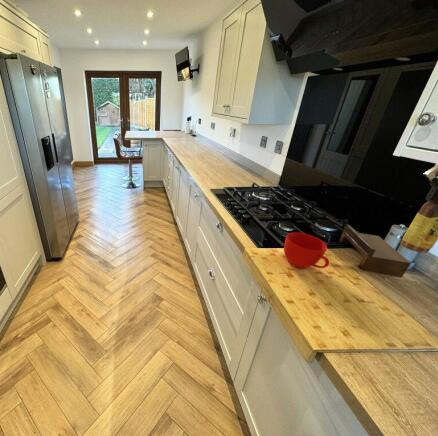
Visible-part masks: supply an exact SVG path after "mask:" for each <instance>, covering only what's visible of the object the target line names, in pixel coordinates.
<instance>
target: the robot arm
mask: <svg viewBox="0 0 438 436" xmlns="http://www.w3.org/2000/svg"><path fill="white" fill-rule="evenodd" d="M423 176H424V177H425V178H426V179H427V180H428V181H429V183H430V186H431V188H430V189H429V192H428V193H427V195H426V197H425V201H426V202H428V201H429V202H431V203H434V204H437V203H438V161H437V162H436V163H435V165H434V166H433V167H431V168H430V169H428V170H426V171H425V172H424V173H423Z"/></svg>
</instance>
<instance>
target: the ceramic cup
mask: <svg viewBox="0 0 438 436" xmlns="http://www.w3.org/2000/svg"><path fill="white" fill-rule="evenodd" d="M327 250H328V246H327V244H326V243H325V242H324V241H323V240H322V239H320V238H319V237H316V236H314V235H311V234H308V233H303V232H289V233H287V235H286V237H285V240H284V244H283V253H284V256H285V258H286V260H287V262H288V263H289V264H290V265H291V266H293V267H296V268H298V269H306V268H310V267H311V266H312V267H314V268H317V269H326V268H327V267H328V266H329V265H330V260H329V258H328V257H327V256H325V254H326V251H327ZM321 259H322V260H324V262H325V263H324V265H318V264H317V263H318V262H319V261H320V260H321Z"/></svg>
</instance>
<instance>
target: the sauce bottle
mask: <svg viewBox="0 0 438 436" xmlns="http://www.w3.org/2000/svg"><path fill="white" fill-rule="evenodd" d="M437 242H438V203H437V204H434V203H431V202H429V201H426V202H425V203H423V205H422V206H421V208H420V210H419V211H417V213H416V215H415V217H414V218H413V220H412V222H411V223H410V225H409V227H408V228H407V230H406V231H405V233H404V234H403V237H402V240H401V241H400V244H401V246H402V247H403V248H405V249H407V250H409V251H412V252H416V253H421V254H422V253H423V254H427V253H429V252H430V250H431V249H433V247H434V246H435V244H436V243H437Z"/></svg>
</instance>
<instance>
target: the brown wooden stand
mask: <svg viewBox="0 0 438 436" xmlns="http://www.w3.org/2000/svg"><path fill="white" fill-rule="evenodd" d="M338 242H339V243H340V244H345V245H352V246H353V247H354V248H355V249H356V250H357V251H358V252H359V253H360V254H361V255H362V256H363V257H362V258H361V260H360V262H359V264H358V266H357V268H358V269H359V270H360V271H364V272H369V273H376V274H380V275H385V276H390V277H391V276H392V277H398V278H403V276H404V275H405V273H406V272H407V270H408V269H409V267H410V266H411V265H412V262H411V261H409V260H408V259H407V258H406V257H405V256H404V255H402V254H401V253H400V252H399V251H397V250H396V249H395V248H394V247H392V246H391V245H390V244H389V243H388V242H387V241H385V240H384V239H383V238H381V236H379V235H374V234H369V233H361V232H358V231H357V230H356V229H355V228H353V227H352V226H351V225H350V224H345V227H344V229H343V231H342V234H341V235H340V237H339V240H338Z"/></svg>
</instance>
